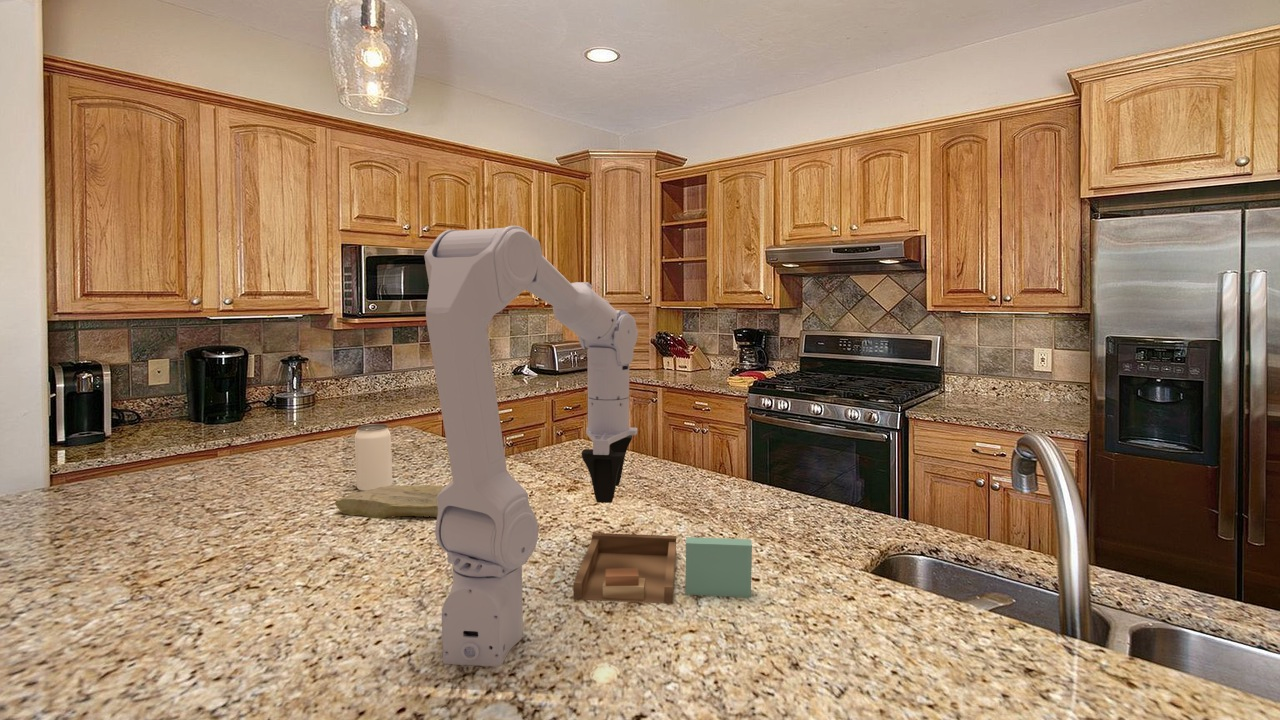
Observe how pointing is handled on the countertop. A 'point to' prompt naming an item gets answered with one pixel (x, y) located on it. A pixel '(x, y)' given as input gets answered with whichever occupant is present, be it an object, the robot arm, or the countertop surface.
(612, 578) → the offcut upper
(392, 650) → the countertop surface
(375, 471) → the can
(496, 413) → the robot arm
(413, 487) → the stone slab
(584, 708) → the countertop surface
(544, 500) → the countertop surface
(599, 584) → the tray
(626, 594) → the offcut lower
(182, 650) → the countertop surface
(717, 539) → the block
